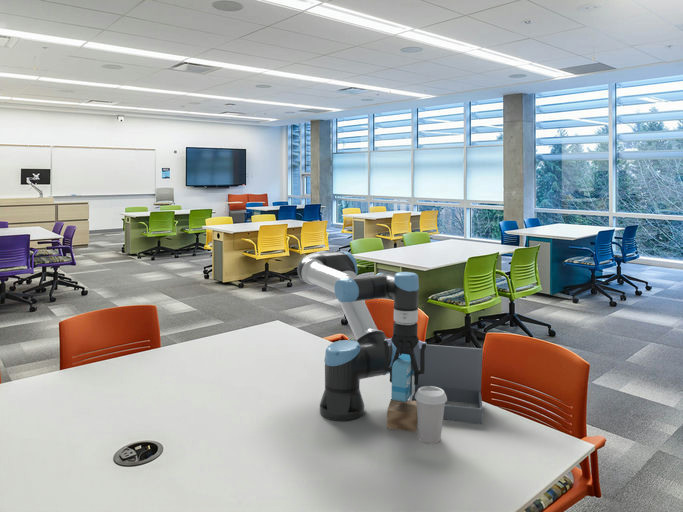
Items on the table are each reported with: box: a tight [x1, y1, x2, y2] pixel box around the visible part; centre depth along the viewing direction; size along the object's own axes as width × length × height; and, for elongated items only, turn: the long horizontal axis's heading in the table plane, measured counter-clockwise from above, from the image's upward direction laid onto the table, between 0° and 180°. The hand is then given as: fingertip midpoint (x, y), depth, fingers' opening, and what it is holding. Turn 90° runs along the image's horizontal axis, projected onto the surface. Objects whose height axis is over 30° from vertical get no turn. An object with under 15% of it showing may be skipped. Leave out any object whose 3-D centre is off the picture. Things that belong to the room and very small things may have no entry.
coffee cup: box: [414, 386, 448, 445], centre depth 152 cm, size 10×10×15 cm
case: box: [408, 344, 484, 425], centre depth 171 cm, size 25×16×20 cm, turn 77°
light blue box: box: [390, 354, 416, 402], centre depth 160 cm, size 12×4×12 cm, turn 157°
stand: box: [386, 398, 418, 433], centre depth 162 cm, size 9×9×6 cm
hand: (403, 392), depth 161 cm, fingers closed on light blue box, 5 cm apart
